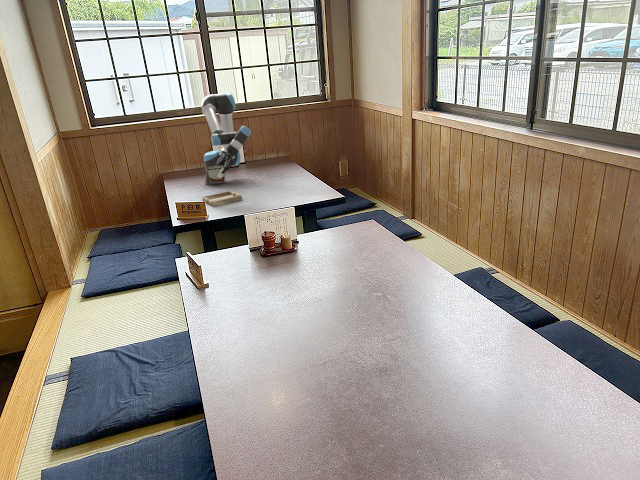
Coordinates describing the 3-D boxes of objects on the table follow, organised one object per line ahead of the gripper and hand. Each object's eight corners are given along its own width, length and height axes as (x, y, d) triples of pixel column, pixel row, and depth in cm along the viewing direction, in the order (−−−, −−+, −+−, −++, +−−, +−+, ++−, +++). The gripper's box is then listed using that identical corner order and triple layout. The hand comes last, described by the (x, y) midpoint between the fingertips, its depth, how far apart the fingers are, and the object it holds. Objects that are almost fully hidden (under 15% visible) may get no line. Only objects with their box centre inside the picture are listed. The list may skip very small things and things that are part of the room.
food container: (229, 179, 316) (227, 164, 312) (227, 182, 310) (224, 167, 307) (211, 180, 317) (208, 165, 313) (208, 183, 311) (206, 167, 308)
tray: (202, 201, 319) (202, 196, 318) (230, 194, 329) (229, 190, 328) (213, 206, 305) (212, 202, 304) (242, 200, 315) (241, 195, 314)
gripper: (246, 153, 306) (227, 182, 303) (231, 149, 323) (212, 176, 321) (237, 146, 301) (218, 175, 299) (222, 142, 319) (204, 170, 316)
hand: (215, 176), depth 310 cm, fingers closed on food container, 10 cm apart
